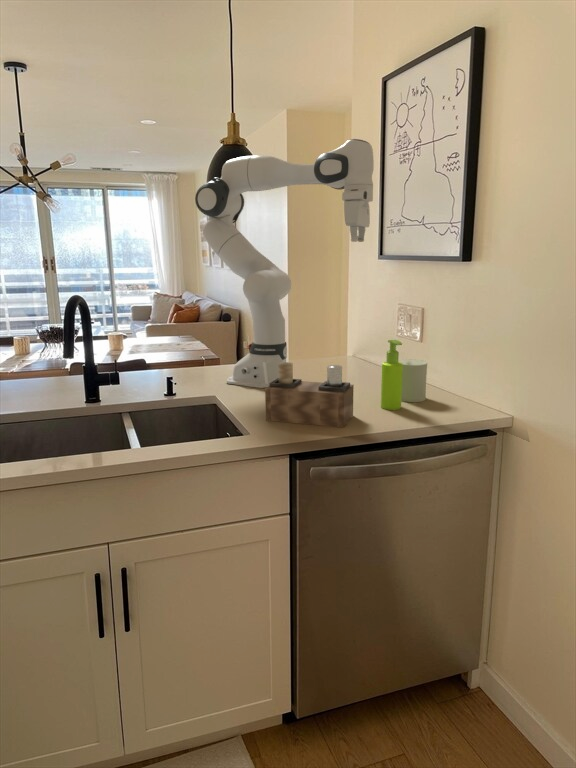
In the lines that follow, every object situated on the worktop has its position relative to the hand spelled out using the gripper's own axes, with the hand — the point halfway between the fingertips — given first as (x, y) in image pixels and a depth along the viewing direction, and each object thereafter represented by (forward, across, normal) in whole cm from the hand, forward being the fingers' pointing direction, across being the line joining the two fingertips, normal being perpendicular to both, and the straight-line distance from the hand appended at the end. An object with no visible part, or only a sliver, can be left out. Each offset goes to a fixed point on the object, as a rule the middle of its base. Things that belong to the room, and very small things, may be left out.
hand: (357, 241), depth 177 cm
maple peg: (+41, +36, -12) cm, 56 cm away
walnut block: (+48, +37, -5) cm, 60 cm away
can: (+48, +8, +19) cm, 52 cm away
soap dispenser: (+48, +20, +15) cm, 54 cm away
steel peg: (+41, +37, +2) cm, 55 cm away
